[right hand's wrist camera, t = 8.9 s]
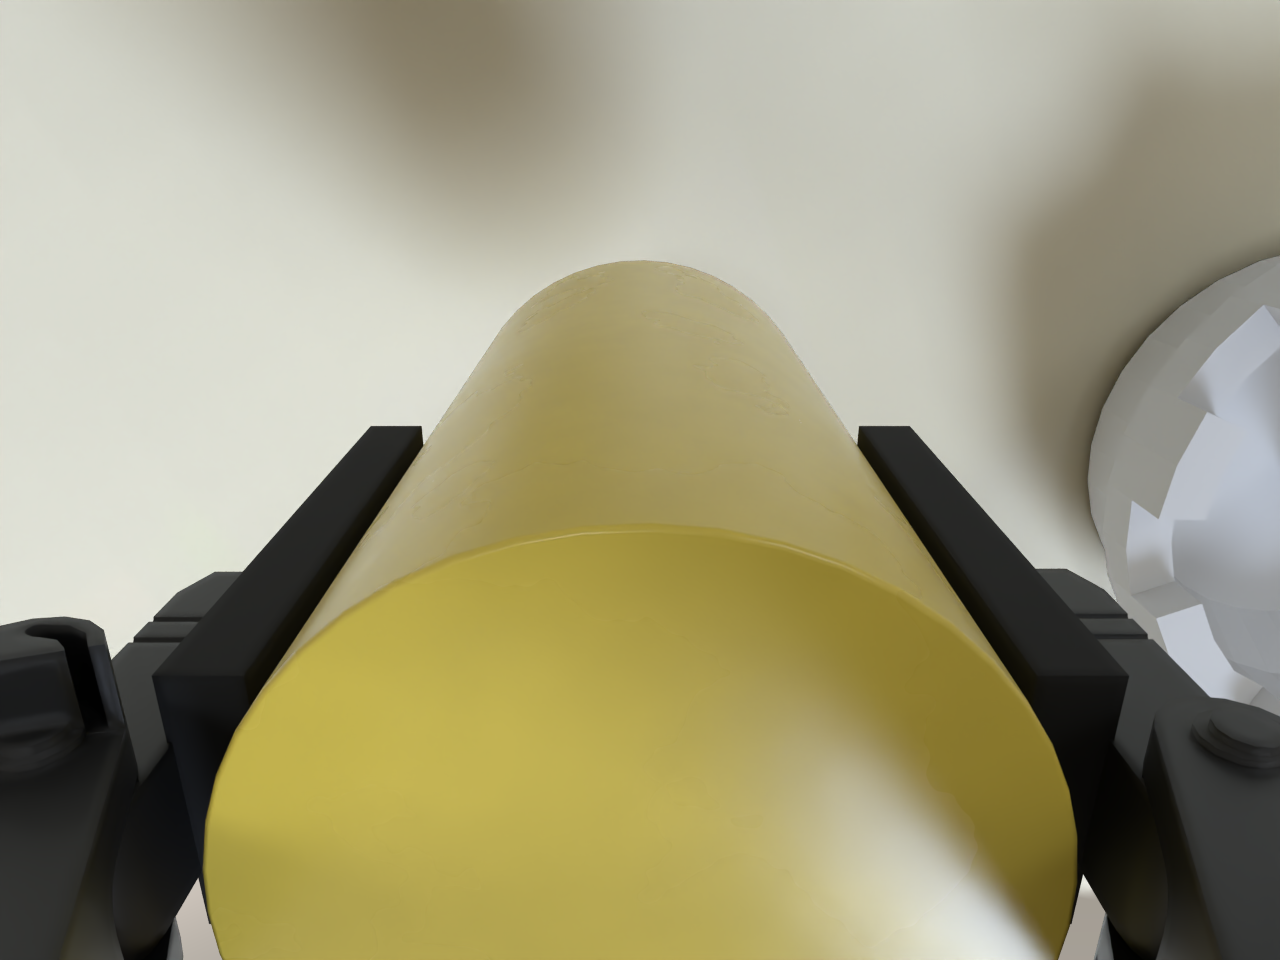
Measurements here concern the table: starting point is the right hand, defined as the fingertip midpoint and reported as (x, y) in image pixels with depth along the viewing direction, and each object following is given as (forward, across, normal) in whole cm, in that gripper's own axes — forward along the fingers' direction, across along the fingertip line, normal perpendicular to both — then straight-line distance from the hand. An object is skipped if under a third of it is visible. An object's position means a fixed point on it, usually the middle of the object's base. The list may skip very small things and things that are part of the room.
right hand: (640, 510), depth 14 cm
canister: (+4, 0, 0) cm, 4 cm away
